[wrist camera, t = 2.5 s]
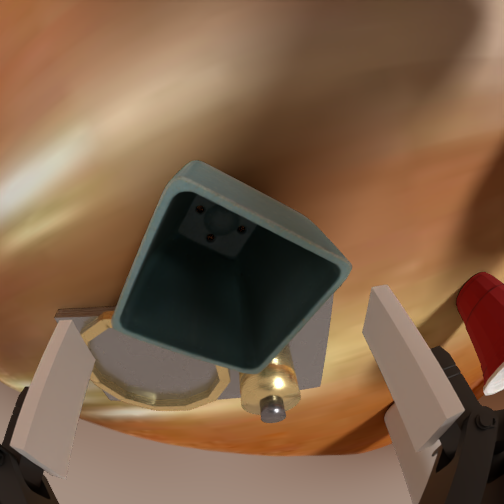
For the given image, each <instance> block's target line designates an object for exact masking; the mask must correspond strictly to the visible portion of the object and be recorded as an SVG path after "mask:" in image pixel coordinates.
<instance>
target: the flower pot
mask: <svg viewBox="0 0 504 504" xmlns="http://www.w3.org/2000/svg"><path fill="white" fill-rule="evenodd" d="M198 206H203V207H204V211H203V212H202V213H199V212H198V211H197V210H196V208H197V207H198ZM239 226H244V227H245V230H244V231H243V232H240V231H238V227H239ZM209 234H212V235H214V239H213V240H208V239H207V236H208V235H209ZM351 269H352V265H351V263H350V262H349V261H348V260H347V259H346V258H345V256H344V255H343V254H342V253H341V252H340V251H339V250H338V249H337V248H336V246H335V245H334V244H333V243H332V242H331V241H330V240H329V239H328V238H327V237H326V236H325V235H324V234H323V232H322V231H321V230H320V229H319V228H318V227H317V226H316V225H315V224H314V223H313V222H311V221H310V220H309V219H308V218H306V217H305V216H304V215H302V214H301V213H299V212H297V211H295V210H294V209H292V208H290V207H288V206H286V205H284V204H282V203H281V202H279V201H277V200H275V199H273V198H271V197H269V196H267V195H266V194H264V193H262V192H260V191H258V190H256V189H254V188H252V187H250V186H248V185H247V184H245V183H243V182H241V181H239V180H237V179H235V178H233V177H231V176H229V175H227V174H225V173H223V172H222V171H220V170H218V169H216V168H214V167H212V166H210V165H208V164H206V163H204V162H202V161H199V160H195V161H191V162H189V163H187V164H186V165H185V166H184V167H183V168H182V169H181V170H180V171H179V172H178V173H177V174H176V175H175V176H174V177H173V178H172V179H171V180H170V181H169V182H168V184H167V185H166V187H165V189H164V191H163V193H162V195H161V198H160V200H159V202H158V205H157V207H156V209H155V212H154V214H153V216H152V218H151V221H150V223H149V226H148V228H147V230H146V233H145V235H144V238H143V240H142V242H141V245H140V248H139V250H138V252H137V255H136V257H135V260H134V262H133V265H132V267H131V270H130V272H129V275H128V277H127V279H126V282H125V285H124V287H123V290H122V292H121V295H120V298H119V300H118V303H117V306H116V308H115V311H114V314H113V316H112V319H111V324H112V327H113V329H114V330H116V331H118V332H120V333H122V334H125V335H126V336H130V337H132V338H135V339H137V340H139V341H143V342H145V343H148V344H151V345H155V346H158V347H160V348H164V349H167V350H169V351H172V352H175V353H179V354H182V355H185V356H187V357H191V358H194V359H197V360H201V361H204V362H207V363H211V364H215V365H217V366H221V367H224V368H228V369H231V370H234V371H238V372H241V373H246V374H258V373H260V372H261V371H262V370H263V369H264V368H266V367H267V366H268V365H269V363H270V362H271V361H272V360H273V359H274V358H275V357H276V356H277V355H278V354H279V353H280V352H281V351H282V349H283V348H285V346H286V345H287V344H288V343H289V342H290V341H291V340H292V339H293V338H294V337H295V336H296V334H297V333H298V332H299V331H300V330H301V329H302V328H303V327H304V325H305V324H306V323H307V322H308V321H309V320H310V319H311V318H312V317H313V316H314V314H315V313H316V312H317V311H318V310H319V309H320V308H321V307H322V306H323V305H324V304H325V302H326V301H327V300H328V299H329V298H330V297H331V296H332V295H333V293H334V292H335V291H336V290H337V289H338V288H339V287H340V286H341V285H342V283H343V282H344V281H345V280H346V279H347V277H348V275H349V273H350V271H351Z"/></svg>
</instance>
